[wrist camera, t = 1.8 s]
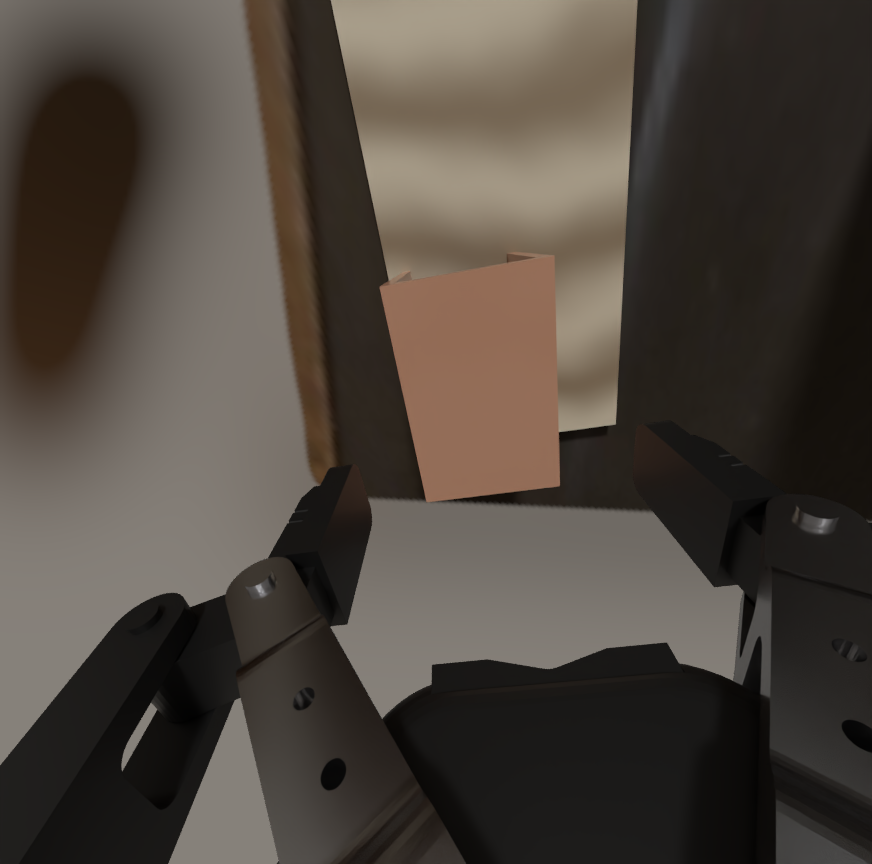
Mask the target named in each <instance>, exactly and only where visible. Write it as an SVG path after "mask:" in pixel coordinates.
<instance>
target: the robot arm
mask: <svg viewBox="0 0 872 864" xmlns="http://www.w3.org/2000/svg"><path fill="white" fill-rule="evenodd" d="M633 480H634V484H635V487H636V489H637V491H638V493H639V495H640V496H641V497H642V498H643V500H644V501H645V502H646V503H647V505H648V506H649V507H650V508H651V510H652V511H653V512H654V513H655V515H656V516H657V517H658V518H659V519H660V521H661V522H662V523H663V524H664V526H665V527H666V528H667V529H668V530H669V532H670V533H671V534H672V536H673V537H674V538H675V539H676V540H677V542H678V543H679V544H680V545H681V547H682V548H683V549H684V550H685V551H686V553H687V554H688V555H689V556H690V558H691V559H692V560H693V561H694V563H695V564H696V565H697V566H698V568H699V569H700V570H701V571H702V573H703V574H704V575H705V576H706V577H707V579H708V580H709V581H710V582H711V584H712V585H713V586H714V587H720V586H730V585H739V587H740V588H741V589H742V590H743V591H744V592H743V595H742V599H741V603H740V615H739V626H738V638H737V650H736V661H735V671H734V678H733V681H732V680H730V679H728V678H725V677H723V676H721V675H718V674H715V673H713V672H710V671H707V670H704V669H701V668H697V667H693V666H689V665H685V664H679V663H678V661H677V659H676V658H675V656H674V654H673V652H672V651H671V649H670V647H669V646H668V644H667V643H657V644H647V645H637V646H626V647H616V648H606V649H604V650H601V651H599V652H596V653H593V654H591V655H588V656H586V657H583V658H580V659H578V660H575V661H573V662H570V663H568V664H565V665H562V666H560V667H557V668H554V669H542V668H536V667H530V666H523V665H517V664H511V663H505V662H499V661H493V660H478V661H467V662H458V663H446V664H436V665H432V685H430V686H427V687H425V688H423V689H421V690H419V691H417V692H415V693H413V694H411V695H410V696H408V697H407V698H406V699H404V700H403V701H401V702H400V703H399V704H397V705H396V706H395V707H394V708H393V709H392V710H391V711H390V712H388V713H387V714H386V715H385V717H384V718H383V719H382V718H381V716H380V715H379V713H378V711H377V709H376V707H375V706H374V704H373V702H372V700H371V698H370V697H369V696H368V693H367V692H366V690H365V688H364V686H363V684H362V683H361V681H360V679H359V677H358V675H357V674H356V672H355V670H354V668H353V666H352V665H351V663H350V661H349V659H348V658H347V656H346V654H345V653H344V650H343V649H342V647H341V645H340V644H339V642H338V640H337V638H336V636H335V634H334V633H333V631H332V629H331V628H330V627H331V626H336V625H345V624H347V623H348V619H349V615H350V611H351V607H352V603H353V599H354V595H355V591H356V587H357V583H358V579H359V575H360V571H361V567H362V563H363V559H364V555H365V551H366V546H367V543H368V539H369V535H370V531H371V526H372V514H371V508H370V504H369V501H368V497H367V494H366V491H365V488H364V484H363V481H362V478H361V474H360V471H359V469H358V467H357V466H356V465H355V464H353V465H346V466H339V467H332V468H330V469H329V470H328V472H327V474H326V475H325V477H324V479H323V481H322V483H321V485H320V486H315V487H313V488H312V489H311V490H310V491H309V492H308V493H307V494H306V495H305V496H303V497H302V498H301V500H300V502H299V503H298V505H297V507H296V509H295V513H293V514H292V516H291V518H290V520H289V523H288V524H287V525H286V527H285V529H284V530H283V532H282V534H281V536H280V538H279V539H278V541H277V543H276V545H275V546H274V548H273V550H272V552H271V554H270V555H269V557H268V559H264V560H261V561H259V562H257V563H255V564H253V565H251V566H250V567H248V568H246V569H245V570H244V571H242V572H241V573H240V574H239V575H238V576H237V577H236V578H235V579H234V580H233V581H232V582H231V584H230V585H229V587H228V589H227V592H226V594H225V595H223V596H220V597H217V598H214V599H212V600H209V601H206V602H203V603H201V604H198V605H196V606H192V607H189V605H188V604H187V602H186V601H185V599H184V598H183V596H181V595H180V594H177V593H166V594H162V595H159V596H156V597H153V598H151V599H149V600H147V601H145V602H143V603H141V604H140V605H138V606H137V607H135V608H133V609H132V610H131V611H129V612H128V613H127V614H125V615H124V616H123V617H122V618H121V619H120V620H119V621H118V622H117V623H116V624H115V625H114V626H113V627H112V628H111V630H110V631H109V632H108V633H107V635H106V636H105V637H104V638H103V640H102V641H101V642H100V643H99V644H98V646H97V647H96V648H95V649H94V651H93V652H92V653H91V654H90V656H89V657H88V658H87V659H86V660H85V662H84V663H83V664H82V665H81V667H80V668H79V669H78V670H77V672H76V673H75V674H74V675H73V677H72V678H71V679H70V680H69V682H68V683H67V684H66V685H65V686H64V688H63V689H62V690H61V691H60V693H59V694H58V695H57V696H56V697H55V699H54V700H53V701H52V702H51V704H50V705H49V706H48V707H47V709H46V710H45V711H44V712H43V714H42V715H41V716H40V717H39V718H38V720H37V721H36V722H35V723H34V725H33V726H32V727H31V728H30V730H29V731H28V732H27V733H26V734H25V736H24V737H23V738H22V739H21V741H20V742H19V743H18V744H17V746H16V747H15V748H14V749H13V750H12V752H11V753H10V754H9V755H8V757H7V758H6V759H5V760H4V762H3V763H2V764H1V765H0V864H168V863H169V860H170V858H171V855H172V853H173V851H174V848H175V845H176V843H177V840H178V838H179V836H180V833H181V831H182V828H183V826H184V824H185V821H186V818H187V816H188V814H189V811H190V809H191V806H192V804H193V801H194V799H195V796H196V794H197V791H198V789H199V787H200V784H201V782H202V779H203V777H204V774H205V772H206V769H207V767H208V764H209V762H210V759H211V757H212V754H213V752H214V750H215V747H216V745H217V742H218V740H219V737H220V735H221V732H222V730H223V727H224V725H225V722H226V720H227V718H228V715H229V713H230V710H231V707H232V705H233V703H234V700H236V699H238V698H241V701H242V705H243V710H244V714H245V718H246V723H247V727H248V731H249V735H250V739H251V744H252V748H253V753H254V757H255V761H256V765H257V769H258V774H259V778H260V782H261V787H262V791H263V795H264V800H265V804H266V808H267V812H268V817H269V821H270V825H271V830H272V834H273V838H274V842H275V847H276V851H277V855H278V860H279V861H278V863H277V864H872V523H868V522H867V521H866V519H865V518H863V517H862V516H861V515H860V514H858V513H857V512H855V511H854V510H852V509H850V508H848V507H847V506H844V505H842V504H840V503H837V502H834V501H832V500H828V499H825V498H821V497H817V496H812V495H805V494H787V493H785V492H784V491H782V490H781V489H780V488H778V487H777V486H775V485H774V484H773V483H771V482H770V481H768V480H767V479H765V478H764V477H763V476H761V475H760V474H758V473H757V472H756V471H754V470H753V469H751V468H750V467H748V466H747V465H743V462H741V461H740V460H739V459H737V458H736V457H734V456H730V453H729V452H727V451H726V450H724V449H723V448H722V447H720V446H719V445H717V444H716V443H714V442H712V441H709V440H706V439H704V438H701V437H698V436H696V435H690V434H689V433H687V432H686V431H685V430H683V429H682V428H681V427H679V426H678V425H676V424H675V423H674V422H672V421H670V420H668V421H660V422H653V423H646V424H640V425H639V426H638V427H637V430H636V436H635V450H634V464H633ZM150 703H152V704H153V705H154V706H155V707H156V708H157V711H156V713H155V715H154V717H153V718H152V720H151V722H150V724H149V726H148V727H147V729H146V731H145V732H144V734H143V736H142V738H141V740H140V741H139V743H138V745H137V747H136V749H135V750H134V752H133V754H132V756H131V757H130V759H129V761H128V763H127V764H126V766H125V768H124V770H123V771H122V770H121V763H122V757H123V752H124V749H125V747H126V745H127V742H128V741H129V739H130V737H131V735H132V734H133V732H134V730H135V728H136V727H137V725H138V723H139V722H140V720H141V718H142V717H143V715H144V713H145V711H146V710H147V708H148V706H149V705H150Z"/></svg>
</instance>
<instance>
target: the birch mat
mask: <svg viewBox="0 0 872 864" xmlns="http://www.w3.org/2000/svg"><path fill="white" fill-rule="evenodd" d="M331 3H332V8H333V13H334V18H335V23H336V28H337V32H338V37H339V42H340V47H341V52H342V56H343V61H344V66H345V71H346V76H347V81H348V85H349V90H350V95H351V100H352V105H353V110H354V114H355V119H356V124H357V129H358V134H359V139H360V143H361V148H362V153H363V158H364V163H365V167H366V172H367V177H368V182H369V187H370V192H371V196H372V201H373V206H374V211H375V216H376V221H377V225H378V230H379V235H380V240H381V245H382V249H383V254H384V259H385V264H386V269H387V274H388V278H389V280H391V279H392V278H394V277H396V276H397V275H399V274H400V273H402V272H407V271H410V272H411V277H412V280H414V279H420V278H425V277H431V276H436V275H442V274H448V273H453V272H459V271H464V270H470V269H475V268H481V267H487V266H492V265H498V264H503V263H508V261H507V253H512V252H523V253H534V254H544V255H554V256H555V298H556V341H557V383H558V425H559V432H564V431H571V430H578V429H586V428H593V427H600V426H608V425H615V424H616V408H617V388H618V369H619V349H620V330H621V310H622V291H623V271H624V252H625V232H626V213H627V193H628V174H629V154H630V135H631V115H632V96H633V76H634V57H635V37H636V18H637V0H331Z"/></svg>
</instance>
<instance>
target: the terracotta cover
mask: <svg viewBox="0 0 872 864" xmlns="http://www.w3.org/2000/svg"><path fill="white" fill-rule="evenodd" d="M507 261H508V263H503V264H498V265H492V266H487V267H481V268H475V269H470V270H464V271H459V272H453V273H448V274H442V275H436V276H431V277H425V278H420V279H414V280H412V277H411V272H410V271H407V272H402V273H400V274H399V275H397V276H396V277H394V278H392V279H391V280H389V281H388V282H386V283H385V284H383V285H382V286H380V291H381V295H382V300H383V305H384V309H385V314H386V318H387V323H388V327H389V332H390V337H391V341H392V346H393V350H394V355H395V359H396V364H397V368H398V373H399V378H400V382H401V387H402V391H403V396H404V400H405V405H406V410H407V414H408V419H409V423H410V428H411V432H412V437H413V442H414V446H415V451H416V455H417V460H418V464H419V469H420V473H421V478H422V483H423V487H424V492H425V496H426V501H427V502H434V501H442V500H450V499H459V498H467V497H475V496H483V495H491V494H499V493H507V492H515V491H524V490H532V489H540V488H548V487H556V486H560V467H559V425H558V383H557V341H556V298H555V256H554V255H544V254H534V253H523V252H512V253H507Z"/></svg>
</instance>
